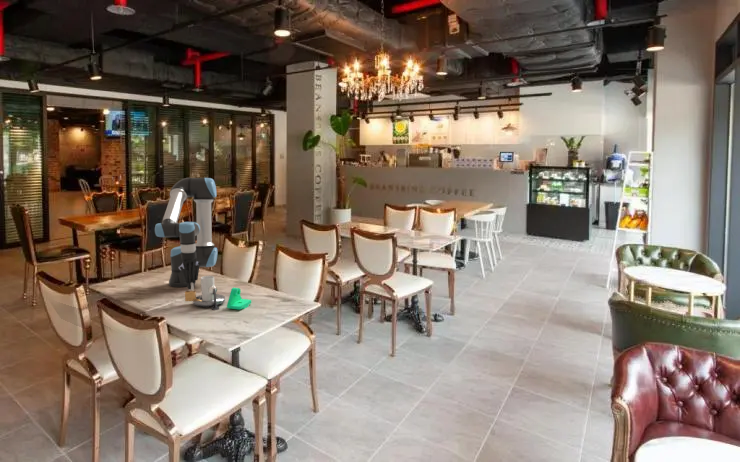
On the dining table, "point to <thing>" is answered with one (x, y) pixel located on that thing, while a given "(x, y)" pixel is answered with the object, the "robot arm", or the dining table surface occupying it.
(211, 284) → the mug
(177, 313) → the dining table surface
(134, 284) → the dining table surface
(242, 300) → the camera mount
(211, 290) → the gauge post
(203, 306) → the turntable base
